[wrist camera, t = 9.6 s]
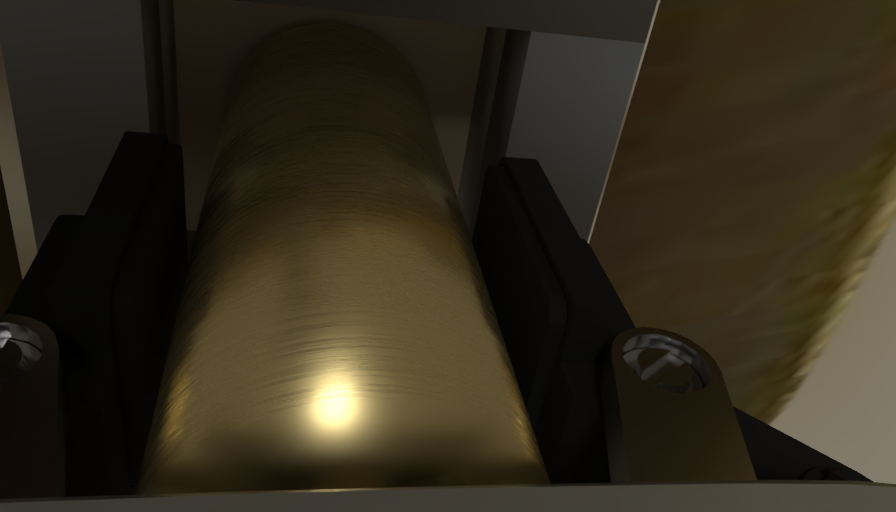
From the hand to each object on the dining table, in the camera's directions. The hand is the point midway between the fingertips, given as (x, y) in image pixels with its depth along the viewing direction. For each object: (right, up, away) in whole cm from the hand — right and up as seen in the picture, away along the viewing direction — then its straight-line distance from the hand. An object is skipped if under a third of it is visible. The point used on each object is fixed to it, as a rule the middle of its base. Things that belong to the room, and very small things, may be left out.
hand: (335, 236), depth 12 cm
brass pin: (-1, +2, +4) cm, 4 cm away
